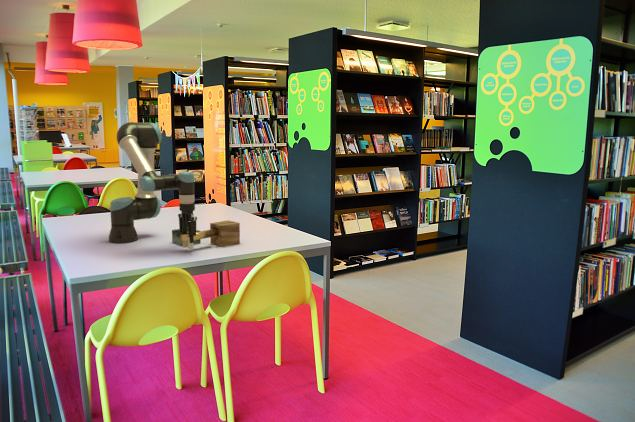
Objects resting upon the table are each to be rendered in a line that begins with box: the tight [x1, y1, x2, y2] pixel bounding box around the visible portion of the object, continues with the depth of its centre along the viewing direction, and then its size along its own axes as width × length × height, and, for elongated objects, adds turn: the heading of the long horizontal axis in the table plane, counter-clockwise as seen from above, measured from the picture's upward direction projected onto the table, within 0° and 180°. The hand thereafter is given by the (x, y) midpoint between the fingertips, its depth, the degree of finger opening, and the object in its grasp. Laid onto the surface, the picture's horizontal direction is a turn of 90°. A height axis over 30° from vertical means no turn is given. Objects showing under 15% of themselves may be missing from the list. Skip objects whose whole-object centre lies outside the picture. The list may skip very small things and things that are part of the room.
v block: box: [171, 228, 202, 247], centre depth 270 cm, size 12×10×7 cm
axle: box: [180, 229, 214, 243], centre depth 256 cm, size 18×4×4 cm, turn 137°
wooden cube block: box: [209, 220, 241, 248], centre depth 269 cm, size 10×12×12 cm
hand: (188, 248), depth 253 cm, fingers closed on axle, 4 cm apart
